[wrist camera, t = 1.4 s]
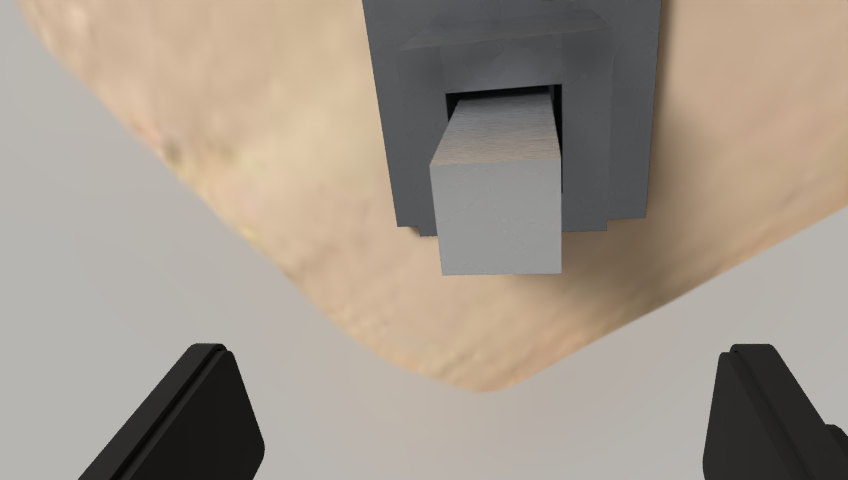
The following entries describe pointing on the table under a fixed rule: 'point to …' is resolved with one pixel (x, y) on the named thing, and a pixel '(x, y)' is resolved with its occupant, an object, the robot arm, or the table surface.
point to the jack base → (521, 67)
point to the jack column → (499, 185)
